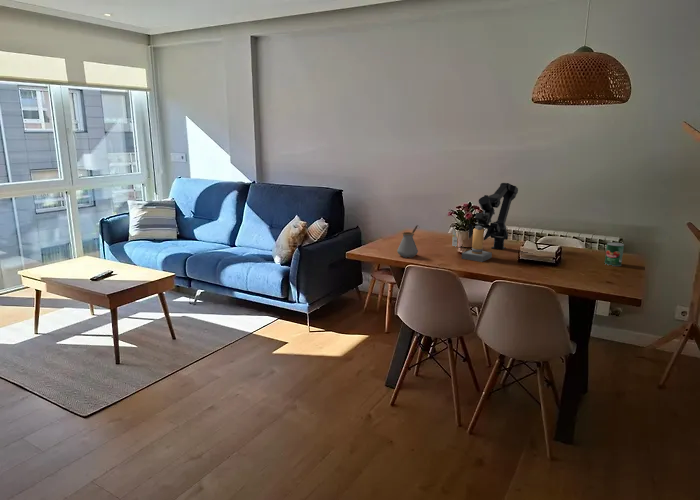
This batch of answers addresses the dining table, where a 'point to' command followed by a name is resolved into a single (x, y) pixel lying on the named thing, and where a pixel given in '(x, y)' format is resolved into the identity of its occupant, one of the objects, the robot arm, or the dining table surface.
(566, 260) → the dining table surface
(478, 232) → the housing
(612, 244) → the canned tomato
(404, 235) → the coffee pot
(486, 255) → the stand
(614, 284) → the dining table surface
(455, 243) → the ink cartridge box
